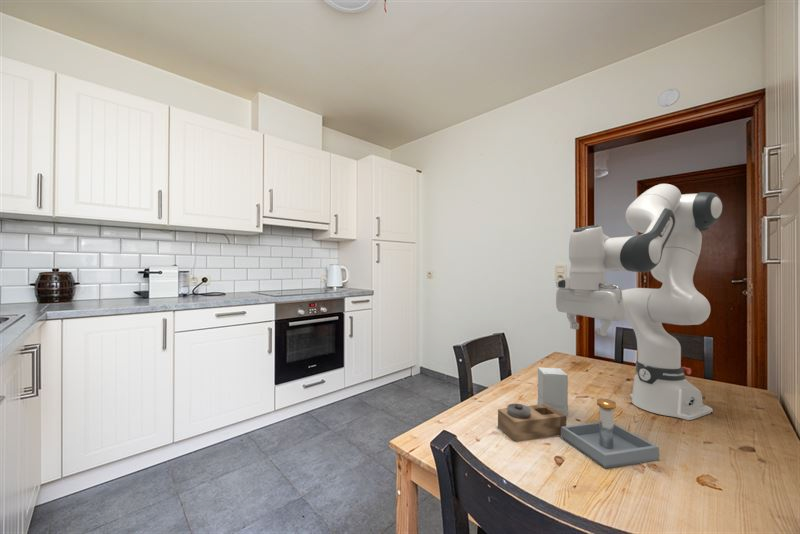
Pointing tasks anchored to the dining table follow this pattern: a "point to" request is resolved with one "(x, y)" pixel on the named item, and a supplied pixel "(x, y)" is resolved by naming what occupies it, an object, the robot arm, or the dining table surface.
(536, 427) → the block
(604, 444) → the pin
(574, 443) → the tray
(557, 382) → the supplement box
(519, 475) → the dining table surface
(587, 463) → the dining table surface
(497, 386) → the dining table surface
